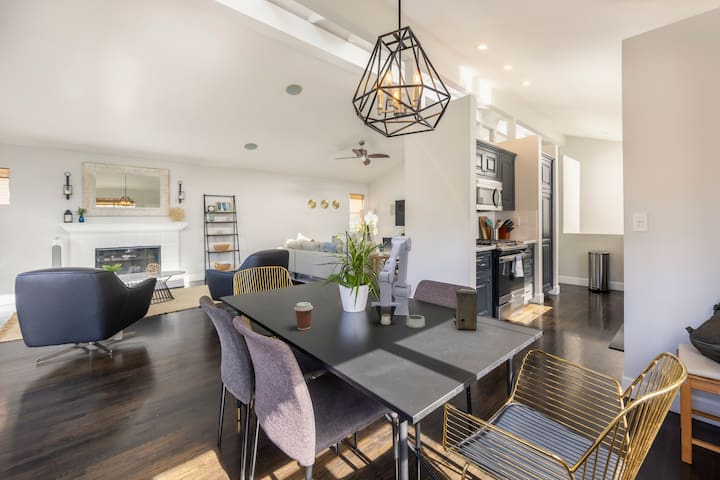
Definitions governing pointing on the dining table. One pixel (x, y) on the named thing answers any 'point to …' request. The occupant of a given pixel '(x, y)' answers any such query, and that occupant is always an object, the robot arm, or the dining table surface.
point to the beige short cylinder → (385, 319)
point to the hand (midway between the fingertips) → (385, 320)
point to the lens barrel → (415, 321)
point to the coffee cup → (303, 315)
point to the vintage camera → (466, 309)
